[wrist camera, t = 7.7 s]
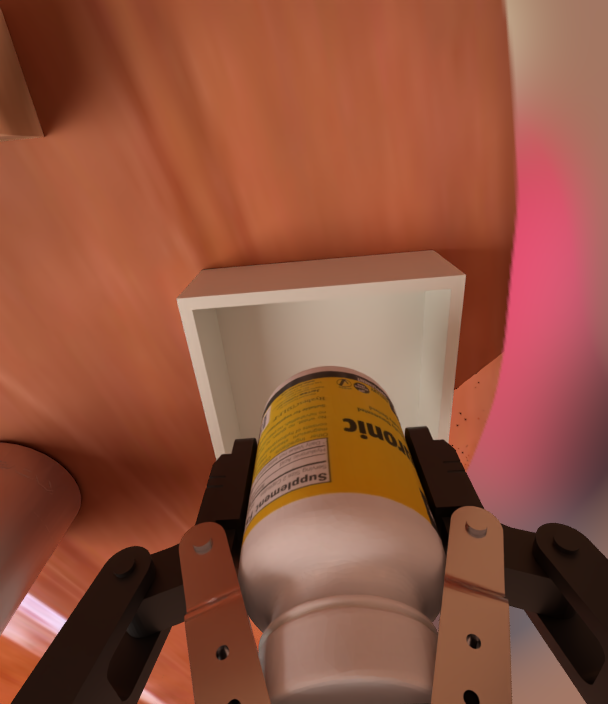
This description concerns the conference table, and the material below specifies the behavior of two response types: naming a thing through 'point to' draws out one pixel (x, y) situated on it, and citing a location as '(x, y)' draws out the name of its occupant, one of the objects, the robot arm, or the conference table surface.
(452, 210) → the conference table surface
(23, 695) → the robot arm
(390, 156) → the conference table surface
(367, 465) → the supplement bottle
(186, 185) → the conference table surface
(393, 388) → the box
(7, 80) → the birch cube
